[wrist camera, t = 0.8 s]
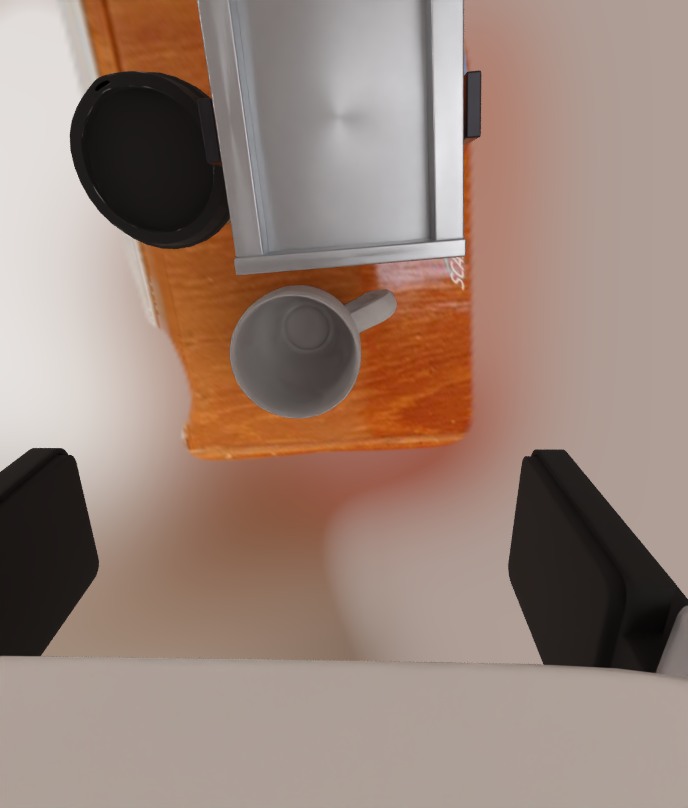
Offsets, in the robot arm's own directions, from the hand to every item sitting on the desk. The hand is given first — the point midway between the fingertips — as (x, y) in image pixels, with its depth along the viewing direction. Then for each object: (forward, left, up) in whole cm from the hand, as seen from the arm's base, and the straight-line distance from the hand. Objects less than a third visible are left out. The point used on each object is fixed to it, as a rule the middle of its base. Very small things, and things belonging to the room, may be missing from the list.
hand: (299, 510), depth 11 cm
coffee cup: (-5, -11, -33) cm, 35 cm away
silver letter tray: (-9, -2, -11) cm, 14 cm away
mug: (+3, -1, -33) cm, 33 cm away
